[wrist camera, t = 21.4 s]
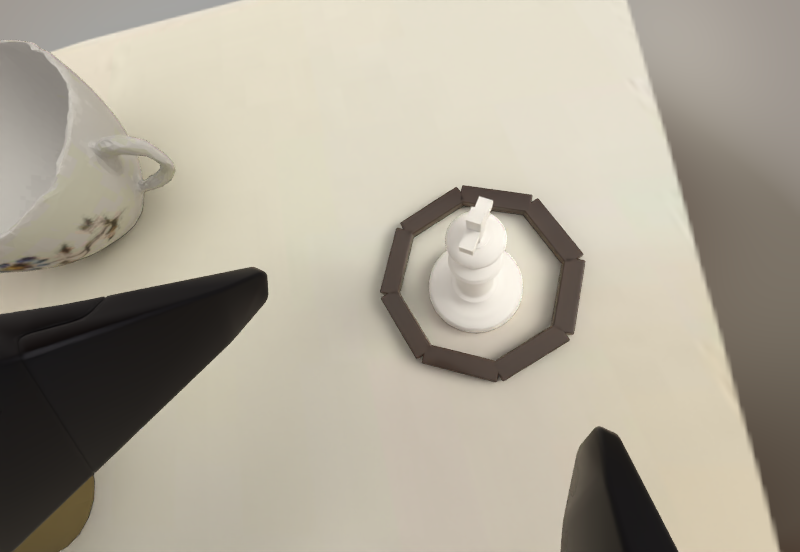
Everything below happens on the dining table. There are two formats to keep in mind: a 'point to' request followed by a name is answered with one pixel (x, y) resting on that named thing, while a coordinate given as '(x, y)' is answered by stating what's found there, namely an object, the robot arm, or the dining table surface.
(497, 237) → the chess piece
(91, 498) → the cork
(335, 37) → the dining table surface
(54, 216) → the teacup
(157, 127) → the dining table surface
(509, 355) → the spot ring
